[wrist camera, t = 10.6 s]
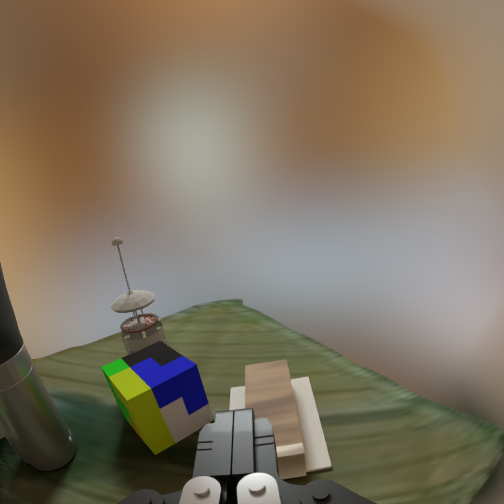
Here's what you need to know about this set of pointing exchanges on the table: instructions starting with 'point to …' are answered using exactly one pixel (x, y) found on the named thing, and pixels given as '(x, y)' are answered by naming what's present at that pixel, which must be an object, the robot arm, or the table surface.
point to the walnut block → (277, 412)
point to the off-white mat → (300, 422)
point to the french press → (137, 316)
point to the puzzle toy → (159, 395)
